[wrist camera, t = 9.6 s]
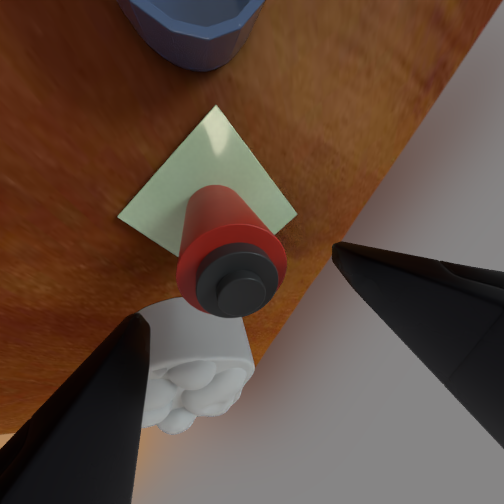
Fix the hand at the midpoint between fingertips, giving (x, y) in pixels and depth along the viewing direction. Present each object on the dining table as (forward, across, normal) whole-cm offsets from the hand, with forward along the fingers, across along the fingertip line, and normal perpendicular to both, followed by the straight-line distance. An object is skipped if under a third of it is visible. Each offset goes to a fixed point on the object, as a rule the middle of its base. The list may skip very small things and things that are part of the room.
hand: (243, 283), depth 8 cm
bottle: (+10, 0, 0) cm, 10 cm away
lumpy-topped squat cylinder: (+10, +9, +13) cm, 19 cm away
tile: (+10, 0, 0) cm, 10 cm away
